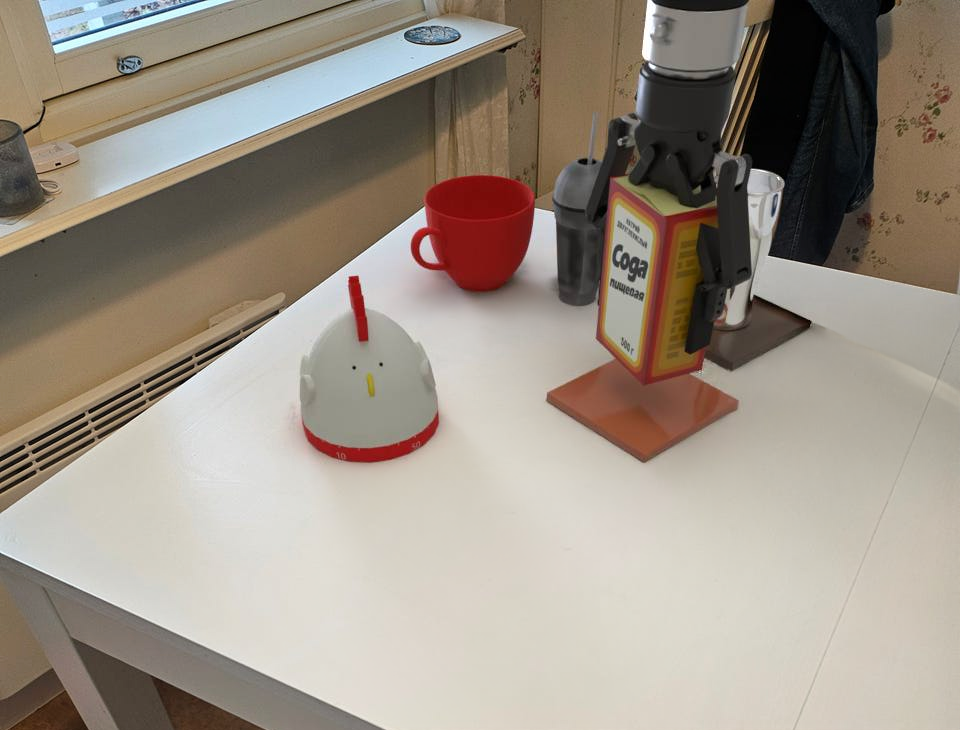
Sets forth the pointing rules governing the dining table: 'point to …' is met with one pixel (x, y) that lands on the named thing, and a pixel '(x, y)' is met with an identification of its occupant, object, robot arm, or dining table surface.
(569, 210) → the beverage cup
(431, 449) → the dining table surface
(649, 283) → the baking soda box
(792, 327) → the walnut board
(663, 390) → the terracotta tile
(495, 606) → the dining table surface
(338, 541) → the dining table surface
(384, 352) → the kitchen timer
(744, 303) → the beer glass
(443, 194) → the ceramic cup
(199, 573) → the dining table surface
